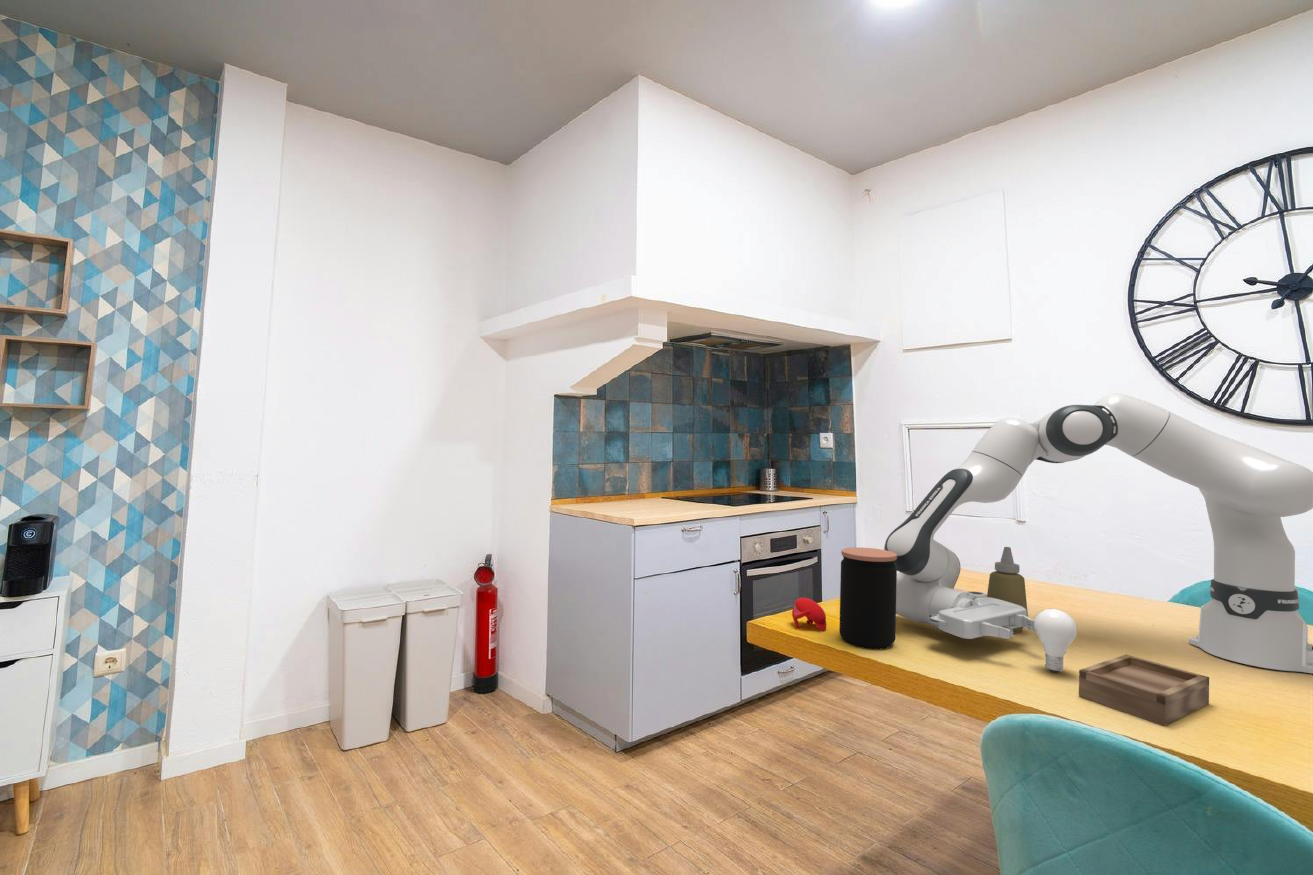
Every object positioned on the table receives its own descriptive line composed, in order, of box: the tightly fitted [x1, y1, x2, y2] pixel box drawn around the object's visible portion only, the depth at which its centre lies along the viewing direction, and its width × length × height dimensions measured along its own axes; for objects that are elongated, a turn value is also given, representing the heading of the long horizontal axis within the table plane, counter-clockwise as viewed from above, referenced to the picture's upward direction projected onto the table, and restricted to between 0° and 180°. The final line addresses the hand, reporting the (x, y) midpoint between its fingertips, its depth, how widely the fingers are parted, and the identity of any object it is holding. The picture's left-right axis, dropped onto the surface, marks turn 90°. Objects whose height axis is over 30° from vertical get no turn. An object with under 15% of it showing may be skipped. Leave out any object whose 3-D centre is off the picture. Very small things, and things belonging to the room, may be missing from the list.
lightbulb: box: [1033, 608, 1078, 673], centre depth 104 cm, size 6×6×11 cm
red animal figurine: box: [791, 597, 827, 633], centre depth 126 cm, size 8×6×6 cm
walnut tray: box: [1078, 654, 1210, 727], centre depth 93 cm, size 16×11×4 cm
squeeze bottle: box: [986, 546, 1029, 634], centre depth 128 cm, size 8×8×18 cm
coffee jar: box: [838, 546, 898, 650], centre depth 118 cm, size 11×11×18 cm
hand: (1025, 630), depth 108 cm, fingers open, 8 cm apart
